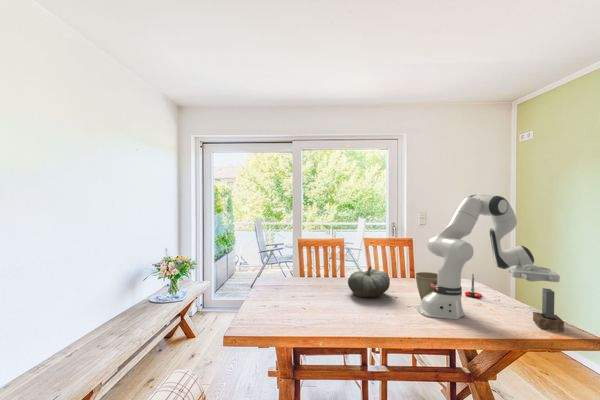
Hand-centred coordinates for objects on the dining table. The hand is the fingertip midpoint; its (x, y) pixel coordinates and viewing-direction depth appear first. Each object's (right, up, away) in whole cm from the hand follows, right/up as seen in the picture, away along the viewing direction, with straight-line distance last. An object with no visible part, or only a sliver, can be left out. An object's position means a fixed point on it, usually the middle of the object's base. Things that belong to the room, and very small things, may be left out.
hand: (539, 278), depth 153 cm
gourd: (-79, -19, +34) cm, 87 cm away
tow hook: (-14, -19, +33) cm, 41 cm away
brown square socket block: (-4, -19, -11) cm, 23 cm away
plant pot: (-47, -19, +19) cm, 54 cm away
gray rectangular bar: (-4, -18, -11) cm, 22 cm away
